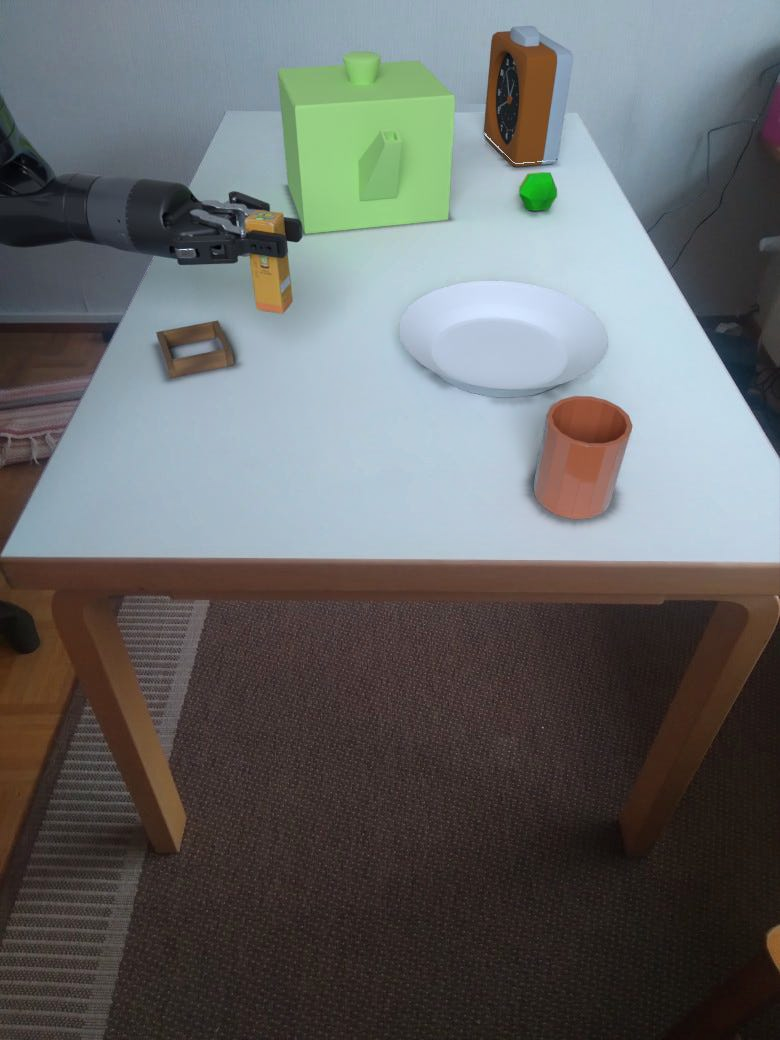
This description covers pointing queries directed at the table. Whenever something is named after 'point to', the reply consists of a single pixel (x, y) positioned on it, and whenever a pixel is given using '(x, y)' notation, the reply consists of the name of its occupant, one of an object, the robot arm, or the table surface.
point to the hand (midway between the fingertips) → (292, 238)
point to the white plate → (503, 337)
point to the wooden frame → (200, 360)
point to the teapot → (367, 143)
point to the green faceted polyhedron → (538, 191)
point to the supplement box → (270, 266)
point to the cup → (581, 456)
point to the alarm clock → (527, 95)
